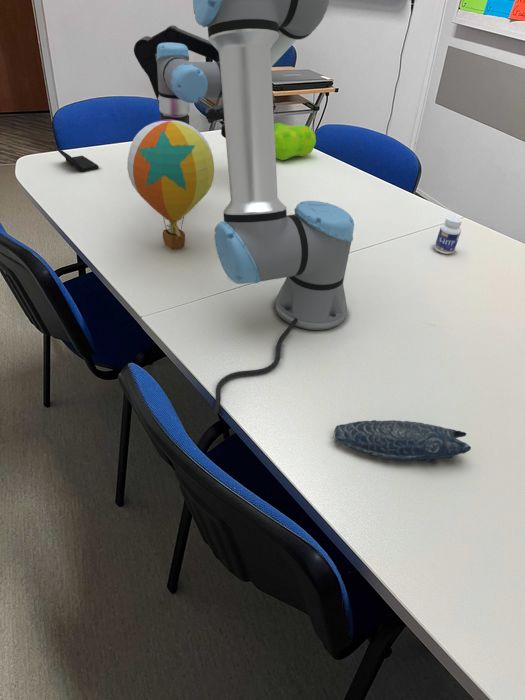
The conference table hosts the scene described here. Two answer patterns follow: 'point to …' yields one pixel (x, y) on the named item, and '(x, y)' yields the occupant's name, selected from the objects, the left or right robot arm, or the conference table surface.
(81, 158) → the black flat handled piece
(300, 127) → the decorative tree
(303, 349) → the conference table surface
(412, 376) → the conference table surface
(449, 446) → the fish model
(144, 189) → the toy
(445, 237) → the pill bottle
